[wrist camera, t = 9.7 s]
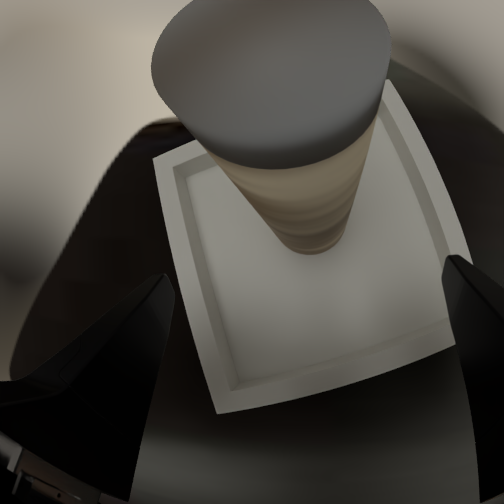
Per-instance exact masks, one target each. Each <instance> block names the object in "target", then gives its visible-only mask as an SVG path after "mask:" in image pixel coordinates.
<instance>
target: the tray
mask: <svg viewBox="0 0 504 504" xmlns="http://www.w3.org/2000/svg"><path fill="white" fill-rule="evenodd" d="M153 162H154V167H155V173H156V179H157V184H158V189H159V194H160V199H161V205H162V209H163V214H164V219H165V224H166V229H167V233H168V238H169V242H170V247H171V251H172V255H173V260H174V264H175V268H176V272H177V277H178V281H179V285H180V289H181V293H182V297H183V300H184V304H185V308H186V312H187V316H188V319H189V323H190V327H191V330H192V334H193V337H194V341H195V344H196V348H197V351H198V355H199V358H200V362H201V365H202V368H203V372H204V375H205V378H206V381H207V384H208V388H209V391H210V394H211V397H212V400H213V403H214V406H215V409H216V412H217V414H222V413H228V412H234V411H240V410H245V409H251V408H256V407H261V406H266V405H270V404H275V403H280V402H284V401H288V400H293V399H297V398H301V397H305V396H309V395H313V394H316V393H320V392H324V391H327V390H331V389H335V388H338V387H341V386H345V385H348V384H351V383H355V382H358V381H361V380H364V379H367V378H370V377H373V376H376V375H379V374H382V373H385V372H388V371H390V370H393V369H396V368H399V367H401V366H404V365H407V364H409V363H412V362H414V361H417V360H419V359H422V358H424V357H427V356H429V355H432V354H434V353H436V352H439V351H441V350H443V349H446V348H448V347H450V346H453V345H455V344H456V343H455V339H454V336H453V332H452V329H451V325H450V321H449V316H448V310H447V305H446V300H445V296H444V291H443V287H442V281H441V276H442V271H443V267H444V263H445V259H446V257H447V256H448V255H454V254H458V255H460V256H462V257H463V258H464V259H466V260H467V261H468V262H470V263H471V264H473V263H472V260H471V256H470V253H469V250H468V247H467V244H466V241H465V238H464V235H463V232H462V229H461V226H460V223H459V220H458V218H457V215H456V212H455V210H454V207H453V205H452V202H451V199H450V197H449V194H448V192H447V190H446V187H445V185H444V183H443V180H442V178H441V176H440V173H439V171H438V169H437V167H436V165H435V162H434V160H433V158H432V156H431V154H430V152H429V150H428V148H427V146H426V144H425V142H424V140H423V138H422V136H421V134H420V132H419V130H418V128H417V126H416V124H415V123H414V121H413V119H412V117H411V115H410V113H409V112H408V110H407V108H406V106H405V105H404V103H403V101H402V100H401V98H400V96H399V94H398V93H397V91H396V90H395V88H394V86H393V85H392V83H391V81H390V80H385V84H384V89H383V93H382V98H381V102H380V106H379V111H378V115H377V119H376V123H375V127H374V131H373V135H372V139H371V142H370V146H369V150H368V154H367V157H366V161H365V165H364V168H363V172H362V175H361V179H360V182H359V186H358V189H357V192H356V196H355V199H354V202H353V206H352V209H351V212H350V215H349V218H348V222H347V225H346V228H345V231H344V233H343V235H342V237H341V239H340V240H339V241H338V243H337V244H336V245H335V246H333V247H332V248H331V249H329V250H327V251H325V252H323V253H320V254H315V255H304V254H299V253H296V252H294V251H292V250H290V249H289V248H287V247H286V246H285V245H284V244H283V243H282V242H281V241H280V240H279V239H278V237H277V236H276V235H275V234H274V232H273V231H272V230H271V229H270V227H269V226H268V225H267V224H266V223H265V221H264V220H263V219H262V218H261V216H260V215H259V214H258V213H257V211H256V210H255V209H254V208H253V207H252V205H251V204H250V203H249V202H248V200H247V199H246V198H245V197H244V196H243V194H242V193H241V192H240V191H239V190H238V188H237V187H236V186H235V185H234V184H233V182H232V181H231V180H230V179H229V178H228V176H227V175H226V174H225V173H224V172H223V170H222V169H221V168H220V167H219V166H218V164H217V163H216V162H215V161H214V160H213V158H212V157H211V156H210V155H209V154H208V152H207V151H206V150H205V149H204V148H203V147H202V145H201V144H200V143H199V142H198V141H197V140H194V141H192V142H189V143H187V144H185V145H182V146H180V147H178V148H176V149H173V150H171V151H169V152H167V153H164V154H162V155H160V156H158V157H156V158H154V159H153Z"/></svg>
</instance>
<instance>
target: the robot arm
mask: <svg viewBox="0 0 504 504" xmlns="http://www.w3.org/2000/svg"><path fill="white" fill-rule="evenodd" d="M441 281H442V287H443V291H444V296H445V300H446V305H447V310H448V316H449V321H450V325H451V329H452V332H453V336H454V339H455V343H456V347H457V351H458V355H459V359H460V363H461V367H462V371H463V375H464V380H465V385H466V389H467V394H468V399H469V405H470V410H471V416H472V422H473V429H474V436H475V442H476V443H475V445H476V454H477V464H478V476H479V495H480V503H483V502H485V501H488V500H491V499H494V498H496V497H499V496H501V495H504V288H503V287H501V286H500V285H499V284H498V283H496V282H495V281H494V280H492V279H491V278H490V277H489V276H487V275H486V274H485V273H483V272H482V271H481V270H479V269H478V268H477V267H475V266H474V265H473V264H471V263H470V262H468V261H467V260H466V259H464V258H463V257H462V256H460V255H458V254H454V255H448V256H447V257H446V259H445V263H444V267H443V271H442V276H441ZM174 300H175V293H174V290H173V288H172V285H171V283H170V281H169V279H168V276H167V275H166V274H154V275H152V276H151V277H150V278H149V279H147V280H146V281H145V282H144V283H142V284H141V285H140V286H139V287H137V288H136V289H135V290H134V291H132V292H131V293H130V294H129V295H127V296H126V297H125V298H124V299H122V300H121V301H120V302H119V303H117V304H116V305H115V306H114V307H113V308H111V309H110V310H109V311H108V312H106V313H105V314H104V315H103V316H102V317H100V318H99V319H98V320H97V321H96V322H94V323H93V324H92V325H91V326H90V327H88V328H87V329H86V330H85V331H84V332H82V334H80V335H79V336H78V337H76V338H75V339H74V340H73V341H72V342H71V343H69V344H68V345H67V346H66V347H64V348H63V349H62V350H61V351H59V352H58V353H57V354H55V355H54V356H53V357H51V358H50V359H49V360H47V361H46V362H45V363H43V364H42V365H41V366H39V367H38V368H37V369H35V370H34V371H33V372H31V373H30V374H29V375H27V376H25V377H23V378H21V379H18V380H12V381H0V504H101V503H99V499H100V495H101V493H104V494H106V495H109V496H112V497H115V498H117V499H120V500H123V501H126V502H128V501H129V498H130V493H131V488H132V483H133V478H134V473H135V469H136V464H137V459H138V455H139V450H140V445H141V441H142V437H143V432H144V428H145V424H146V420H147V416H148V411H149V407H150V403H151V399H152V395H153V392H154V388H155V384H156V380H157V376H158V372H159V369H160V365H161V361H162V358H163V354H164V350H165V347H166V343H167V339H168V335H169V330H170V324H171V318H172V312H173V306H174Z"/></svg>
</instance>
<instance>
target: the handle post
mask: <svg viewBox="0 0 504 504" xmlns="http://www.w3.org/2000/svg"><path fill="white" fill-rule="evenodd" d="M390 54H391V36H390V32H389V29H388V26H387V24H386V22H385V20H384V18H383V17H382V15H381V14H380V12H379V11H378V9H377V8H376V7H375V6H374V5H373V4H372V3H371V2H370V1H369V0H193V1H192V2H190V3H189V4H188V5H187V6H185V7H184V8H183V9H182V10H180V12H178V14H177V15H176V16H174V17H173V19H172V20H171V21H170V23H168V25H167V26H166V28H165V29H164V30H163V32H162V34H161V35H160V37H159V39H158V41H157V43H156V46H155V49H154V52H153V56H152V63H151V73H152V79H153V83H154V86H155V88H156V90H157V92H158V94H159V95H160V97H161V98H162V100H163V101H164V102H165V104H166V105H167V106H168V107H169V108H170V109H171V110H172V111H173V113H174V114H175V115H176V116H177V117H178V119H179V120H180V121H181V122H182V123H183V124H184V126H185V127H186V128H187V129H188V130H189V131H190V133H191V134H192V135H193V136H194V137H195V138H196V140H197V141H198V142H199V143H200V144H201V145H202V147H203V148H204V149H205V150H206V151H207V152H208V154H209V155H210V156H211V157H212V158H213V160H214V161H215V162H216V163H217V164H218V166H219V167H220V168H221V169H222V170H223V172H224V173H225V174H226V175H227V176H228V178H229V179H230V180H231V181H232V182H233V184H234V185H235V186H236V187H237V188H238V190H239V191H240V192H241V193H242V194H243V196H244V197H245V198H246V199H247V200H248V202H249V203H250V204H251V205H252V207H253V208H254V209H255V210H256V211H257V213H258V214H259V215H260V216H261V218H262V219H263V220H264V221H265V223H266V224H267V225H268V226H269V227H270V229H271V230H272V231H273V232H274V234H275V235H276V236H277V237H278V239H279V240H280V241H281V242H282V243H283V244H284V245H285V246H286V247H287V248H289V249H290V250H292V251H294V252H296V253H299V254H304V255H315V254H320V253H323V252H325V251H327V250H329V249H331V248H332V247H333V246H335V245H336V244H337V243H338V241H339V240H340V239H341V237H342V235H343V233H344V231H345V228H346V225H347V222H348V218H349V215H350V212H351V209H352V206H353V202H354V199H355V196H356V192H357V189H358V186H359V182H360V179H361V175H362V172H363V168H364V165H365V161H366V157H367V154H368V150H369V146H370V142H371V139H372V135H373V131H374V127H375V123H376V119H377V115H378V111H379V106H380V102H381V98H382V93H383V89H384V84H385V80H386V75H387V70H388V65H389V60H390Z"/></svg>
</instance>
